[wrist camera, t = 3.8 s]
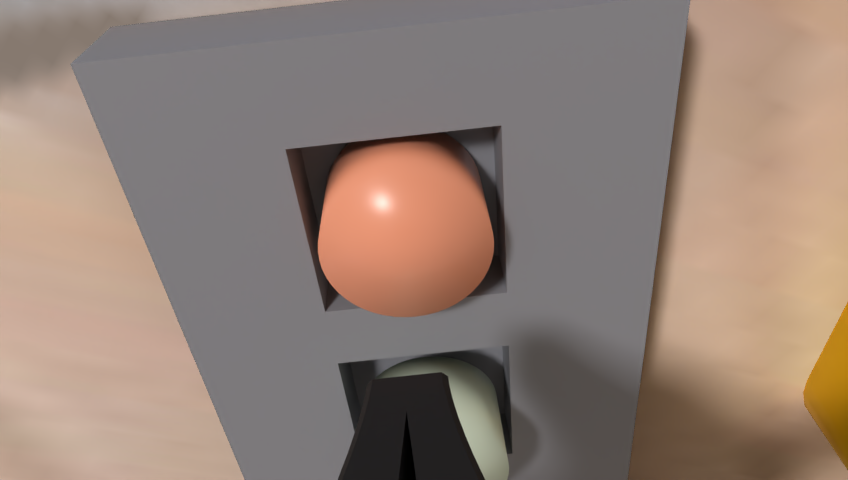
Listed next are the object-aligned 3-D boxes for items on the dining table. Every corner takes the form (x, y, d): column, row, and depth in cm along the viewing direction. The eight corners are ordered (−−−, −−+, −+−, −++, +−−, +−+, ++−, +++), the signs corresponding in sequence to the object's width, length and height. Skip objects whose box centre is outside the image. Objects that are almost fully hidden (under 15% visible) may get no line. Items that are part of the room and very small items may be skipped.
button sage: (373, 452, 22) (372, 524, 20) (353, 364, 20) (349, 435, 18) (498, 439, 22) (510, 510, 20) (494, 349, 20) (506, 419, 18)
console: (308, 559, 30) (302, 617, 28) (111, 26, 16) (70, 64, 14) (597, 531, 30) (613, 587, 28) (651, -35, 16) (691, -7, 14)
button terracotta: (340, 264, 19) (334, 325, 17) (311, 132, 17) (301, 184, 15) (484, 248, 19) (496, 308, 17) (477, 114, 17) (490, 164, 15)
